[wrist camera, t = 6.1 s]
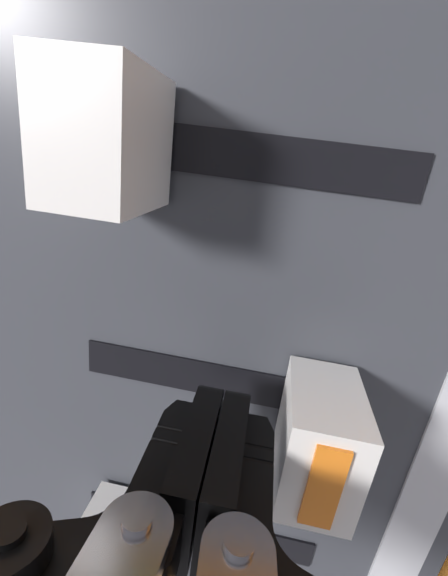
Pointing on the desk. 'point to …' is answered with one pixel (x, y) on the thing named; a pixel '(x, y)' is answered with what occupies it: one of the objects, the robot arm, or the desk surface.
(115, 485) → the breaker
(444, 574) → the desk surface
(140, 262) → the slider switch panel
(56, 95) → the block
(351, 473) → the breaker
